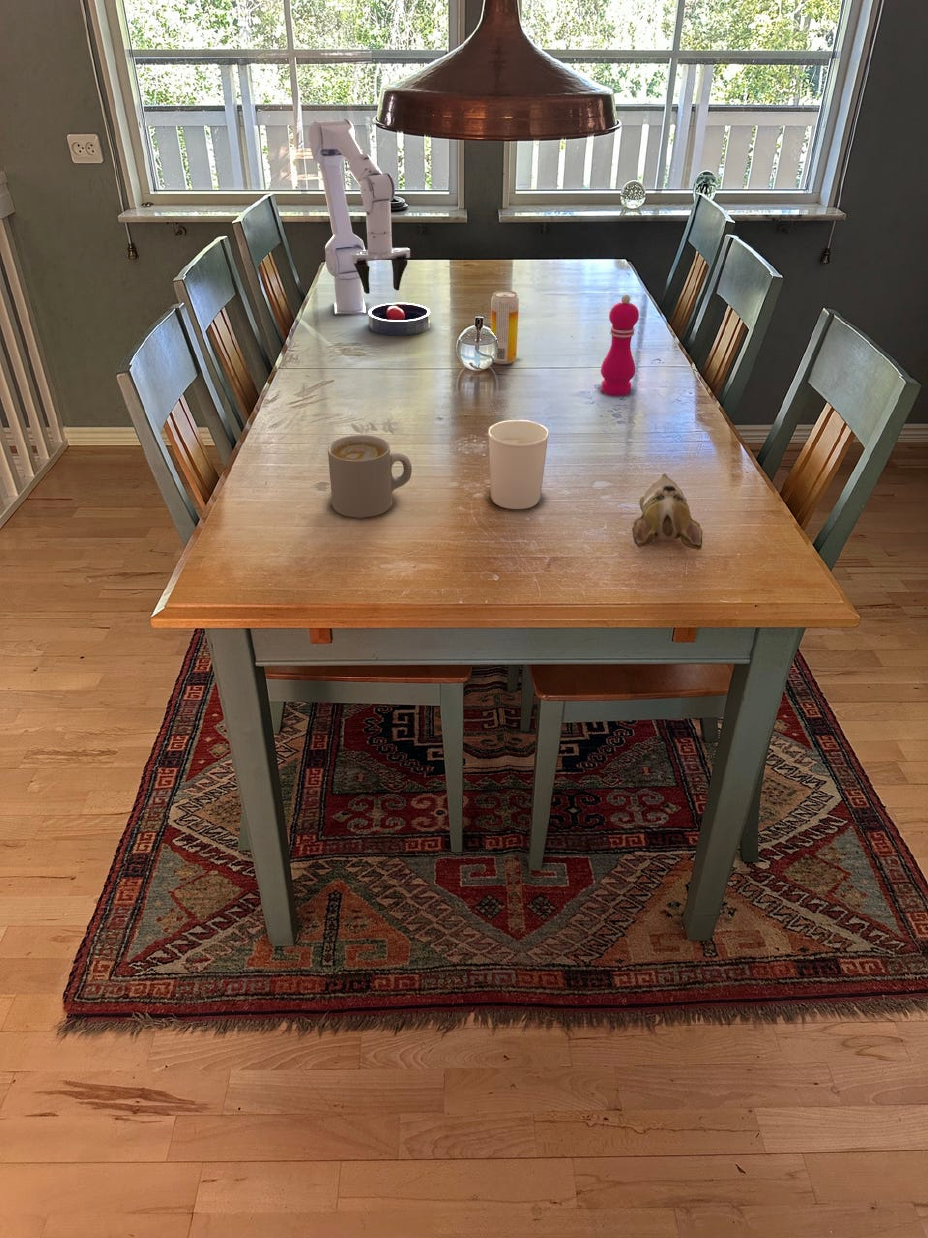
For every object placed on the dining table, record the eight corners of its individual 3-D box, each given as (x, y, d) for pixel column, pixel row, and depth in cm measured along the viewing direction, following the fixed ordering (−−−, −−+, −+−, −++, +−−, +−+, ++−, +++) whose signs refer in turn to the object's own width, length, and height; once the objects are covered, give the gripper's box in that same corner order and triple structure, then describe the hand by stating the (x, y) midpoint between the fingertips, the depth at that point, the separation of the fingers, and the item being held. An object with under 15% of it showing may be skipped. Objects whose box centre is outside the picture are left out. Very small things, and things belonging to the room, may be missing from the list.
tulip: (383, 320, 228) (383, 304, 225) (398, 318, 229) (397, 302, 227) (401, 333, 220) (400, 316, 217) (416, 331, 221) (415, 314, 219)
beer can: (516, 356, 208) (519, 290, 200) (515, 365, 203) (518, 298, 195) (490, 355, 209) (492, 289, 200) (488, 364, 204) (490, 296, 195)
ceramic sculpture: (699, 465, 142) (712, 516, 130) (691, 512, 147) (702, 564, 136) (632, 462, 142) (638, 513, 131) (626, 509, 148) (631, 561, 136)
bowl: (368, 319, 230) (367, 303, 228) (427, 317, 232) (426, 302, 229) (370, 338, 218) (370, 322, 215) (432, 336, 219) (432, 320, 217)
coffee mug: (331, 518, 145) (326, 462, 139) (333, 490, 153) (328, 435, 147) (414, 515, 146) (413, 459, 140) (411, 487, 154) (409, 433, 148)
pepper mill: (631, 398, 188) (643, 301, 176) (597, 395, 189) (606, 298, 178) (633, 385, 194) (645, 291, 182) (600, 383, 195) (609, 288, 183)
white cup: (509, 479, 157) (512, 414, 150) (555, 496, 152) (560, 430, 145) (474, 499, 150) (475, 432, 144) (521, 518, 145) (525, 449, 139)
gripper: (355, 237, 204) (358, 298, 212) (414, 232, 209) (415, 291, 217) (345, 231, 209) (349, 290, 217) (403, 225, 214) (404, 284, 222)
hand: (381, 290), depth 217 cm, fingers open, 7 cm apart
